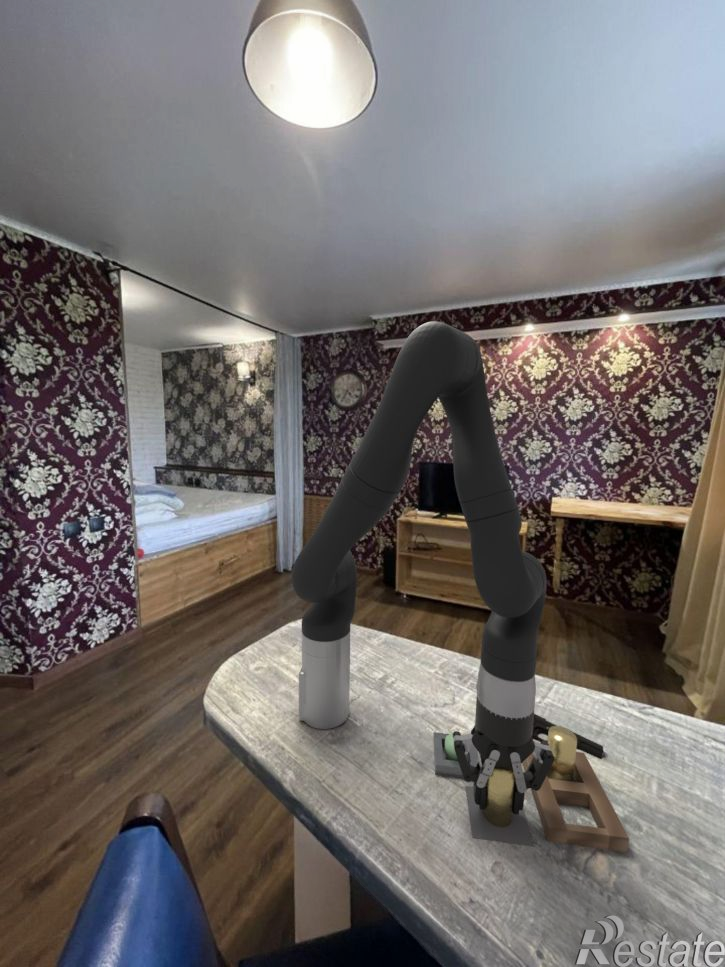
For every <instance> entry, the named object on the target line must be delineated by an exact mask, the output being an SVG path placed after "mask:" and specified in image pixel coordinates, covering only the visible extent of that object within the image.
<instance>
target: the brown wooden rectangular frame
mask: <svg viewBox="0 0 725 967" xmlns="http://www.w3.org/2000/svg"><path fill="white" fill-rule="evenodd" d="M533 757H534V754H533V753H532V754H531V755H529V756H528V757H527V758H526V759H525V760H524V761H523V762H522V763H521V765H522V768H523V771H524V772H526V771H527V769H528V767H529V765H530V763H531V761H532V759H533ZM574 779H575V781H573V782H571V781H563V780H555V779H548V777H547V776H546V778H545V780H544V782H543V784H542V786H541V788H540V789H539V790H538V791H535V790H533V789H532V788H529V789H530V791H531V793H532V797H533V800H534V804H535V807H536V809H537V810H536V811H537V813H538V816H539V820H540V822H541V825H542V828H543V830H544V835H545V837H546V841H547V842H551V843H557V844H564V845H572V846H580V847H587V848H594V849H601V850H608V851H612V852H613V851H615V852H622V853H628V851H629V844H630V837H629V835H628V833H627V831H626V829H625V828H624V825H623V824H622V822H621V820H620V818H619V816H618V814H617V812H616V811H615V809H614V807H613V805H612V803H611V801H610V799H609V797H608V795H607V794H606V793H607V792H606V790H604V787H603V786H602V784H601V783H600V781H599V778H598V777H597V775H596V773H595V771H594V769H593V767H592V765H591V762H590V761H589V759H588V758H587V756H586V754H585V752H583V751H581V752H579V751H576V758H575V768H574ZM559 804H562V805H571V806H572V805H573V806H579V807H587V808H588V810H589V811H590V814H591V816H592V818H593V821H594V822H595V825H596V826H589V825H581V824H575V823H568V822H565V819H564V816H563V813H562V811H561V808H560V807H559V806H560V805H559Z"/></svg>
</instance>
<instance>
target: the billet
mask: <svg viewBox="0 0 725 967" xmlns="http://www.w3.org/2000/svg"><path fill="white" fill-rule="evenodd" d="M514 783H515V776H514V772H513V770H512V769H507V768H504V767H497V768H496V767H494V769H493V772H492V774H491V776H489V777H488V780H487V782H486V801H485V810H483V814H484V817H485V818H486V819H487V821H488V822H490V823H491V824H492V825H494V826H497V827H507V826H508V825H510V823H511V821H512V809H513V796H514Z"/></svg>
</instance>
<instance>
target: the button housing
mask: <svg viewBox="0 0 725 967" xmlns="http://www.w3.org/2000/svg"><path fill="white" fill-rule="evenodd" d="M449 734H450V733H444V732H437V731H436V732H435V731H434V732H433V734H432V735H433V737H432V744H433V745H432V746H433V758H434V774H435V775H437V776H438V775H440V776H446V777H447V776H448V777H454V778H455V777H456V778H463V775H462V771H461V768H460V765H459V762H458V761H454V760H451V759H449V758H448V757H447V756H446V754H445V738H446V736H447V735H449ZM467 756H468V759H469V762H470V765H472V766H474V767H475V765H476V762H477V760H478V751H477V749H476V748H475V746H474V745H473V744H472V745H471V746H470V751H469V752H468V754H467Z"/></svg>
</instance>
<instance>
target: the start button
mask: <svg viewBox="0 0 725 967" xmlns="http://www.w3.org/2000/svg"><path fill="white" fill-rule="evenodd" d="M448 734H449V735H447V736H446V738H445V754H446V756H447V757H448V758H449V759H451V760H454V761H458V759H457V756H456V752H455V749H454V742H453V733H448Z"/></svg>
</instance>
